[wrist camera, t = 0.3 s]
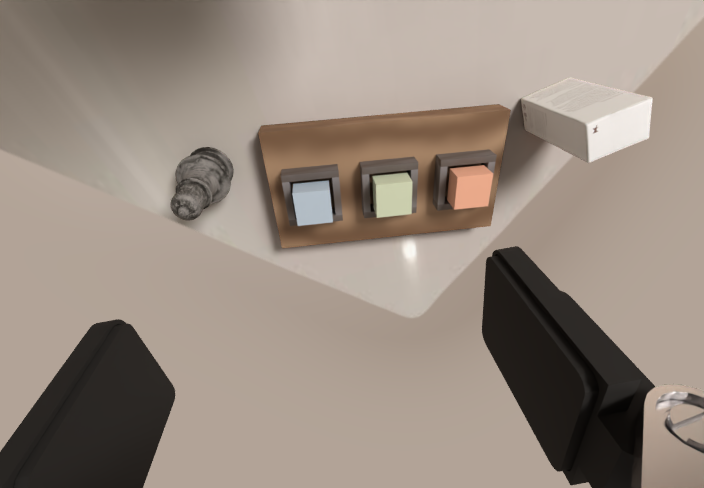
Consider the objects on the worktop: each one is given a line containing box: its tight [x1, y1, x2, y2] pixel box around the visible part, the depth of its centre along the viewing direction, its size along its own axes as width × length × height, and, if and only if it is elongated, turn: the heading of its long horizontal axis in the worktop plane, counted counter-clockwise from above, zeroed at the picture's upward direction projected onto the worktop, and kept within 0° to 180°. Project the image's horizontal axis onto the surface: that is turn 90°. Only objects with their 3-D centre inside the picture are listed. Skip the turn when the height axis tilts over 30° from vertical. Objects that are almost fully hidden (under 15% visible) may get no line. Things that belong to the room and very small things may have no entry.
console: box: [258, 104, 511, 248], centre depth 43 cm, size 15×28×5 cm, turn 94°
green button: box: [372, 173, 412, 218], centre depth 41 cm, size 4×4×3 cm
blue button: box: [292, 180, 333, 226], centre depth 40 cm, size 4×4×3 cm
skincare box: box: [521, 77, 652, 163], centre depth 38 cm, size 6×4×12 cm
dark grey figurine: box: [171, 147, 233, 220], centre depth 38 cm, size 6×6×12 cm
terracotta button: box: [447, 165, 493, 210], centre depth 41 cm, size 4×4×3 cm
